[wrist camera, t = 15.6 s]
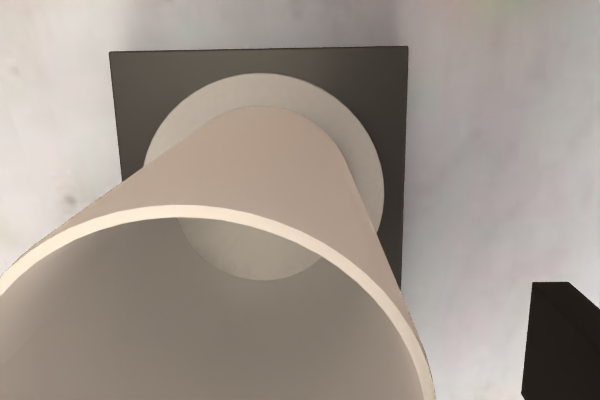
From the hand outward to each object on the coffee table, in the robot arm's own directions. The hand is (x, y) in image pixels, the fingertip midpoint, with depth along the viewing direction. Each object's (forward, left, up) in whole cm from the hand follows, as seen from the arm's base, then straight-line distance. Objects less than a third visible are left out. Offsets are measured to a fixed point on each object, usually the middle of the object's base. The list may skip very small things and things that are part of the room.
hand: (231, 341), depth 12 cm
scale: (0, +1, -16) cm, 16 cm away
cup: (0, 0, -13) cm, 13 cm away
